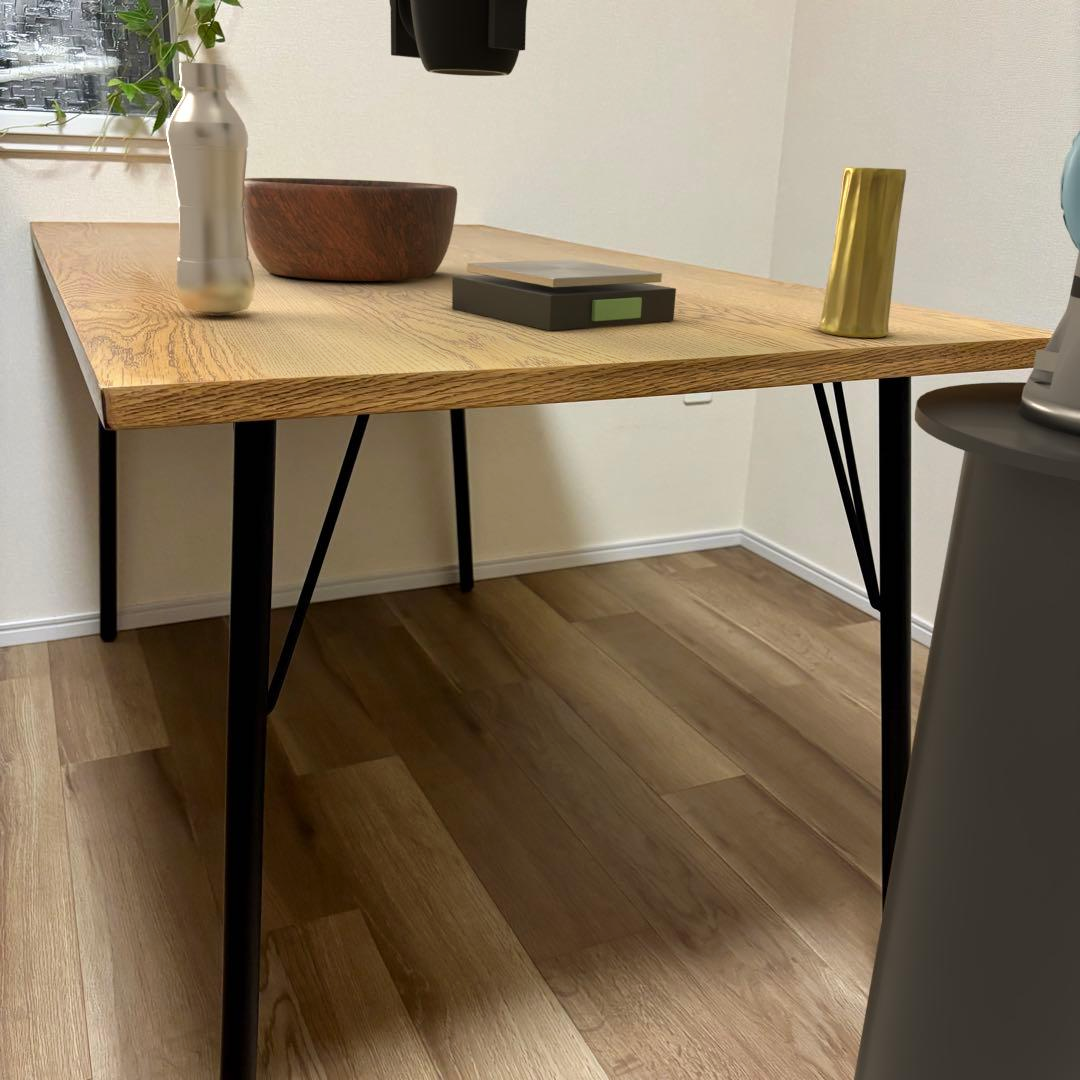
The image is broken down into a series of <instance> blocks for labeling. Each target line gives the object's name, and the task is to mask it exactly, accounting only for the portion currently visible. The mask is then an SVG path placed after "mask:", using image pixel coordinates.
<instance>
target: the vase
mask: <svg viewBox="0 0 1080 1080" xmlns="http://www.w3.org/2000/svg"><path fill="white" fill-rule="evenodd" d="M842 172H843V173H842V183H841V192H840V198H839V206H838V213H837V221H836V227H835V234H834V241H833V248H832V253H831V254H832V256H831V259H830V260H831V261H830V266H829V272H828V277H827V282H826V287H825V294H824V301H823V306H822V313H821V317H820V320H819V325H818V331H820V332H822V333H825V334H827V335H832V336H837V337H838V336H839V337H847V338H857V339H858V338H860V339H874V338H875V339H876V338H877V339H878V338H883V337H885V336H887V335H888V334H889V319H890V313H891V303H892V302H891V301H892V295H893V293H892V292H893V284H894V283H893V282H894V274H895V273H894V272H895V264H896V262H895V261H896V253H897V246H898V237H899V231H900V229H899V228H900V223H901V222H900V221H901V215H902V207H903V199H904V194H905V193H904V191H905V187H906V186H905V185H906V179H907V169H905V168H882V167H881V168H880V167H862V166H861V167H860V166H859V167H857V166H844V168H843V171H842Z"/></svg>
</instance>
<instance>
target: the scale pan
mask: <svg viewBox="0 0 1080 1080" xmlns="http://www.w3.org/2000/svg"><path fill="white" fill-rule="evenodd" d="M466 272H467V273H472V274H478V275H487V276H493V277H498V278H504V279H509V280H515V281H520V282H525V283H531V284H536V285H542V286H547V287H552V288H557V287H576V286H595V285H614V284H633V283H646V284H650V283H651V284H652V283H662V279H663V273H661V272H655V271H649V270H644V269H636V268H629V267H622V266H616V265H610V264H603V263H596V262H590V261H582V260H576V259H554V260H553V259H552V260H551V259H549V260H524V261H523V260H522V261H493V262H491V261H490V262H467V264H466Z"/></svg>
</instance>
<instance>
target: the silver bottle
mask: <svg viewBox="0 0 1080 1080" xmlns="http://www.w3.org/2000/svg"><path fill="white" fill-rule="evenodd" d="M179 77H180V78H179V79H180V80H179V88H183V96H182V97H181V100H180V101H179V102H178V104H177V106H176V107H175V108H174V110H173V112H172V114H171V117H170V118H169V120H168V123H167V128H166V137H167V138H166V139H167V144H168V146H169V148H168V150H169V155H170V161H171V164H172V165H171V166H172V171H173V176H174V180H175V189H176V190H175V191H176V198H177V199H178V204H177V208H178V221H179V222H178V255H179V256H178V257H177V261H176V268H175V280H174V281H175V288H176V293H177V297H178V300H179V302H180V303H181V305H182V306H183V307H184V309H186V310H189V311H192V312H196V313H202V314H205V315H209V316H216V317H217V316H226V315H231V314H233V313H238V312H242V311H245V310H248V309H249V308H250V306H251V304H252V303H253V301H254V294H255V286H256V283H255V278H254V277H255V276H254V271H253V267H252V263H251V259H249V256H250V255H249V247H248V237H247V233H246V229H245V221H244V207H243V201H244V182H245V179H246V171H247V170H246V168H247V158H248V147H249V134H248V131H247V128H246V125H245V123H244V121H243V119H242V118H241V116H240V115H239V113H238V111H237V110H236V108H235V107H234V106H233V105H232V103H231V102H230V101H229V100H228V98H227V93H226V91H229V90H230V84H229V83H228V68H227V66H226V65H225V64H220V63H219V64H218V63H207V62H180V63H179Z"/></svg>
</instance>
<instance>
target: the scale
mask: <svg viewBox="0 0 1080 1080" xmlns="http://www.w3.org/2000/svg"><path fill="white" fill-rule="evenodd" d="M451 281H452V282H451V284H452V285H451V286H452V287H451V288H452V289H451V290H452V291H451V308H452V309H454V310H458V311H462V312H466V313H472V314H475V315H479V316H483V317H488V318H493V319H496V320H501V321H504V322H505V321H506V322H510V323H513V324H518V325H522V326H527V327H530V328H531V327H532V328H535V329H540V330H545V331H549V332H553V331H555V332H556V331H564V330H565V331H566V330H568V331H569V330H578V329H580V330H581V329H590V328H602V327H615V326H625V325H627V326H628V325H640V324H650V323H653V324H654V323H662V322H663V323H664V322H674V320H675V307H676V296H677V295H676V294H677V288H675V287H669V286H663V285H656V284H652V283H651V284H650V283H633V284H614V285H595V286H576V287H557V288H552V287H547V286H542V285H536V284H531V283H525V282H520V281H515V280H509V279H504V278H498V277H493V276H487V275H482V274H478V275H459V276H458V275H457V276H452V279H451Z"/></svg>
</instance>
